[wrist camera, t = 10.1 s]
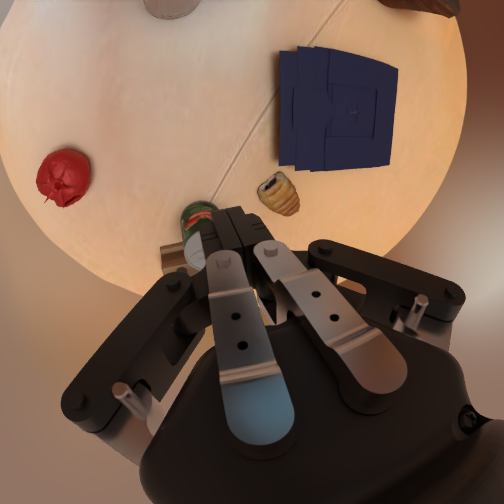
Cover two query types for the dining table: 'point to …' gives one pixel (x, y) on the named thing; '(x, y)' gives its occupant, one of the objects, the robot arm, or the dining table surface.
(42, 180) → the pomegranate
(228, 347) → the robot arm
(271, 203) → the pastry
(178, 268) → the bench stop
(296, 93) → the navy folded cloth
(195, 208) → the canned tomato
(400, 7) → the case
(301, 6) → the dining table surface
